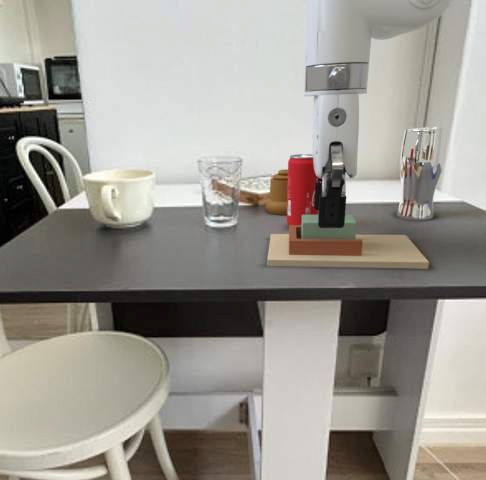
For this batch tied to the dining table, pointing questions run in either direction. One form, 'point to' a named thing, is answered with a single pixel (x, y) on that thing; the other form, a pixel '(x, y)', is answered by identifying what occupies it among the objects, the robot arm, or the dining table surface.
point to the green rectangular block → (327, 229)
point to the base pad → (344, 251)
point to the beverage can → (300, 188)
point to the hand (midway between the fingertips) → (327, 217)
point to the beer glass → (420, 171)
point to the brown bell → (278, 193)
